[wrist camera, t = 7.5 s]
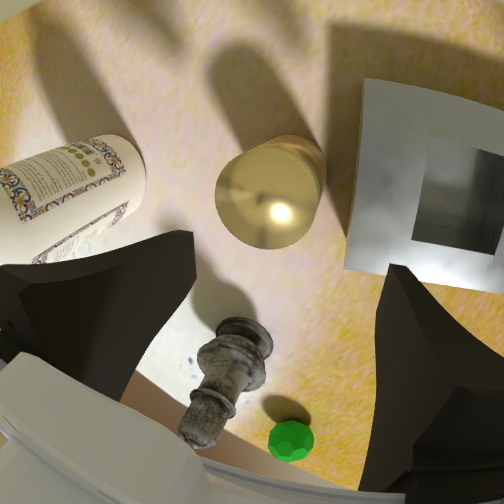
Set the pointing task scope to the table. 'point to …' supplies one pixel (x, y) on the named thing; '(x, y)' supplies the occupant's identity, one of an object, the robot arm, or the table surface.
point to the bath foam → (67, 198)
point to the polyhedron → (290, 441)
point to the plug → (272, 191)
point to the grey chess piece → (225, 379)
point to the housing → (428, 187)
